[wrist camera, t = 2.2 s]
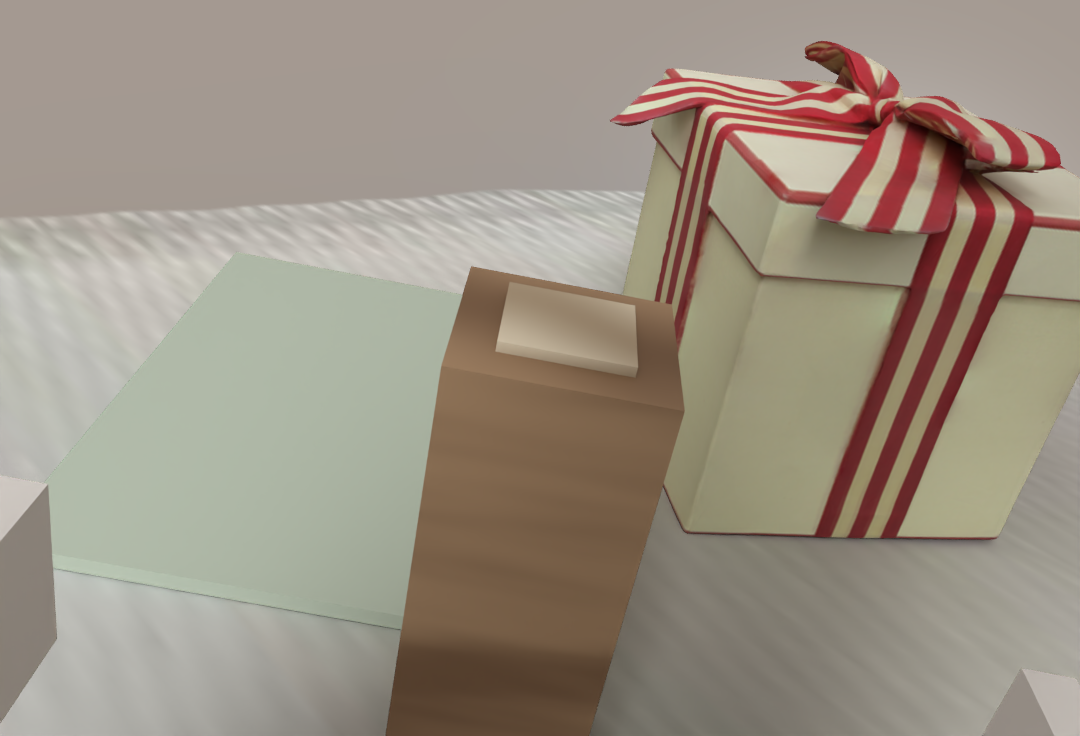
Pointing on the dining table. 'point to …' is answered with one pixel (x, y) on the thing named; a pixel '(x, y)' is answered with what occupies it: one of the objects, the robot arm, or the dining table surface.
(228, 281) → the mat
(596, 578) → the walnut block
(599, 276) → the dining table surface
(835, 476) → the gift box
